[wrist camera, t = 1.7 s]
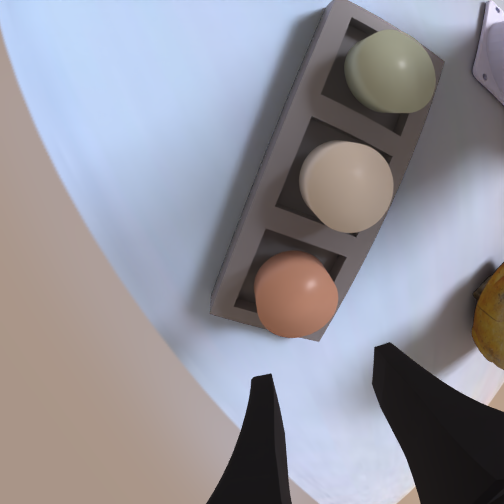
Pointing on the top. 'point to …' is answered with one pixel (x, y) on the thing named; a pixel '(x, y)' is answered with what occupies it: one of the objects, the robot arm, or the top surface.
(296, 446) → the top surface
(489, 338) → the decorative figurine
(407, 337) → the top surface
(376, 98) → the sage button
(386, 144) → the panel
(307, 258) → the terracotta button
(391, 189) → the ivory button
